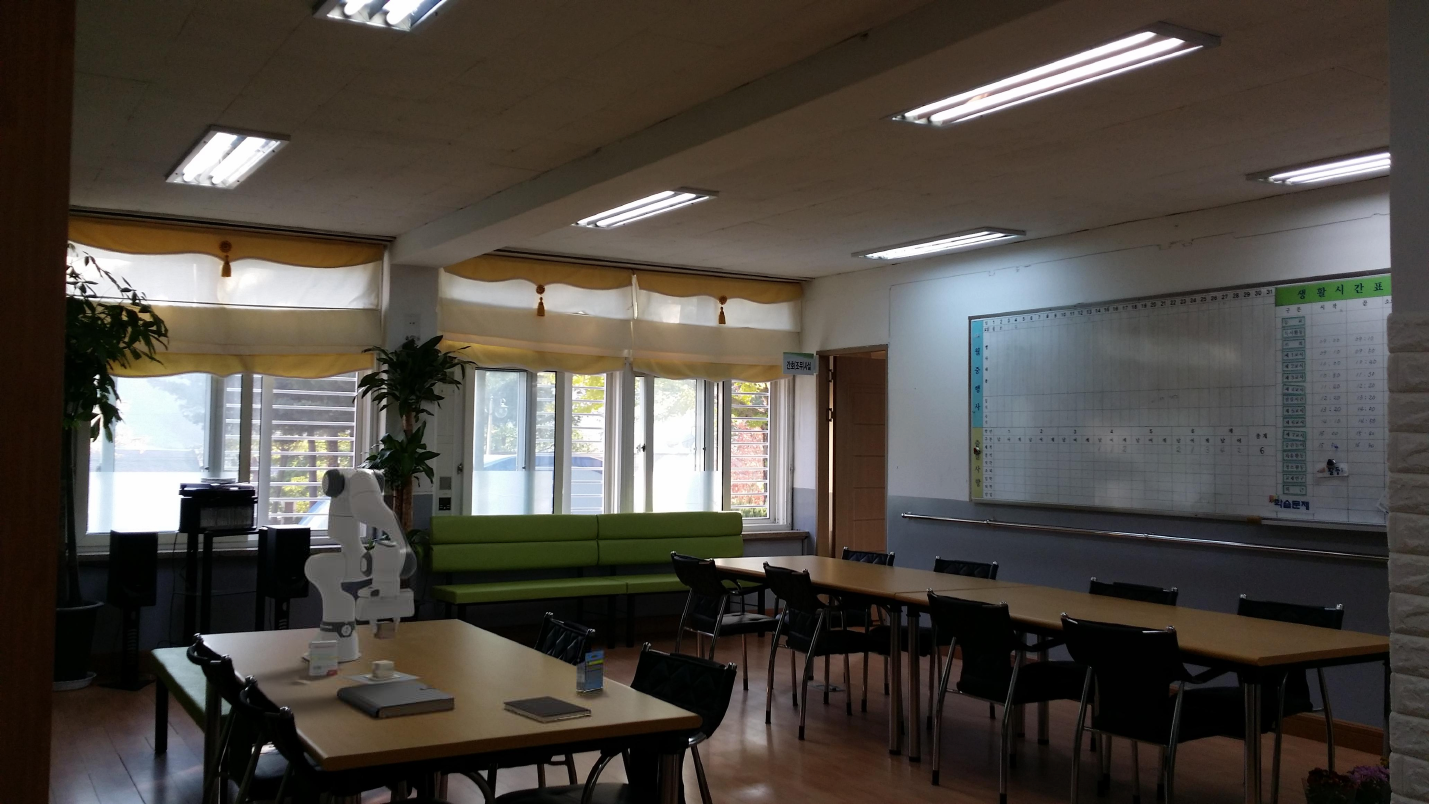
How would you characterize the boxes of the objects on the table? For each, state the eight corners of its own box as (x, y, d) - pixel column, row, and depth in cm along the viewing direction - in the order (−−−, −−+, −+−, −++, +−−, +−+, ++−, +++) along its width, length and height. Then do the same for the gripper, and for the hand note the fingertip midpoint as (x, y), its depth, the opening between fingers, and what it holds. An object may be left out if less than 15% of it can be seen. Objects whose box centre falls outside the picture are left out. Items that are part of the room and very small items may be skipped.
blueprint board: (343, 680, 358) (343, 675, 358) (392, 673, 371) (392, 669, 371) (371, 687, 345) (372, 683, 345) (421, 680, 358) (421, 676, 359)
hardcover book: (542, 724, 301) (542, 716, 301) (502, 710, 319) (503, 702, 319) (591, 717, 311) (591, 709, 311) (550, 703, 329) (550, 695, 329)
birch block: (371, 677, 358) (372, 662, 358) (385, 675, 362) (386, 660, 362) (379, 679, 355) (380, 663, 355) (393, 677, 358) (393, 662, 359)
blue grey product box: (594, 687, 353) (595, 648, 354) (603, 688, 351) (604, 650, 351) (575, 691, 346) (576, 652, 346) (584, 692, 343) (585, 653, 344)
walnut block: (373, 637, 359) (374, 622, 359) (387, 636, 362) (387, 621, 363) (381, 639, 355) (382, 624, 356) (395, 638, 359) (395, 622, 359)
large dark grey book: (456, 695, 318) (375, 706, 303) (455, 710, 318) (374, 721, 303) (413, 678, 344) (336, 687, 330) (412, 691, 344) (336, 701, 329)
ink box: (335, 674, 367) (337, 639, 368) (337, 677, 362) (338, 641, 363) (308, 676, 363) (310, 640, 364) (310, 679, 359) (311, 642, 360)
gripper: (408, 587, 370) (407, 628, 369) (353, 591, 355) (351, 634, 354) (418, 588, 366) (417, 630, 364) (363, 592, 351) (361, 635, 349)
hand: (384, 632), depth 359 cm, fingers closed on walnut block, 5 cm apart
